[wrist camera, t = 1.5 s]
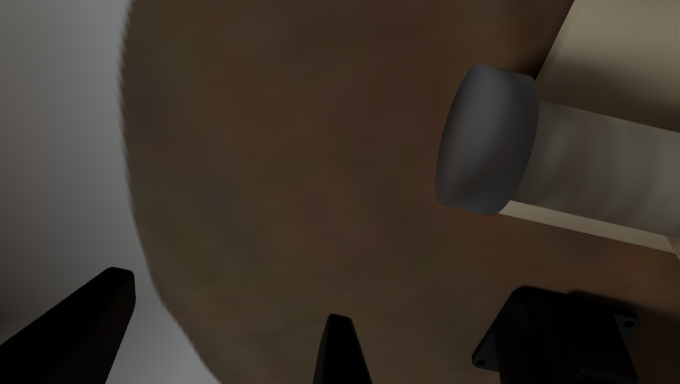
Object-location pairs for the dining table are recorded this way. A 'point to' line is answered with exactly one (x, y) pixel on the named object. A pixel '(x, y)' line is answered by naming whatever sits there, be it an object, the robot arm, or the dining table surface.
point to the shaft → (554, 157)
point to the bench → (614, 86)
